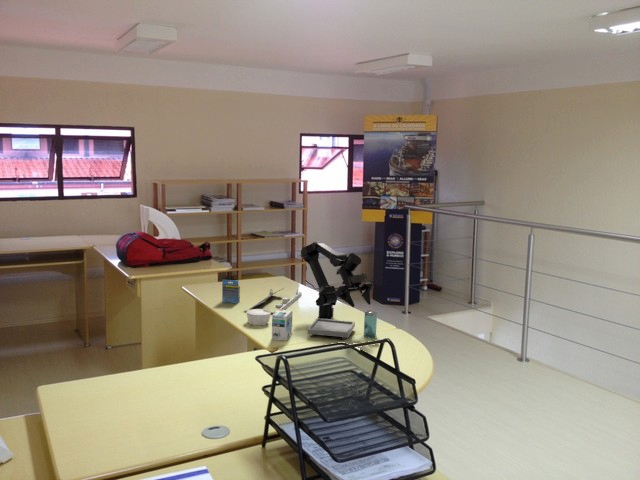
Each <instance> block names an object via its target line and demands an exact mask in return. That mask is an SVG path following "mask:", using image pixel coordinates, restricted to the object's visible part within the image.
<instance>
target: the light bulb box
mask: <svg viewBox="0 0 640 480" xmlns="http://www.w3.org/2000/svg"><path fill="white" fill-rule="evenodd" d="M274 312H275V313H274ZM274 312H273V313H272V315H271V340H279V341H287V340H288V339H289V338H290V337H291V335H293V310H289V309H288V310H287V309H285V310H280V308H278V309H277V310H276V311H274Z"/></svg>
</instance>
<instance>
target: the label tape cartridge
mask: <svg viewBox="0 0 640 480" xmlns="http://www.w3.org/2000/svg"><path fill="white" fill-rule="evenodd" d="M221 285H222V288H221V289H222V293H221V295H222V296H221V297H222V301H221V302H222V303H232V304H239V303H240V301H241V300H240V299H241V286H240V285H239V280H238V279H237V280H235V279H234V280H233V279H222V284H221Z"/></svg>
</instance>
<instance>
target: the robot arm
mask: <svg viewBox="0 0 640 480" xmlns="http://www.w3.org/2000/svg"><path fill="white" fill-rule="evenodd" d="M320 254H321V255H323V256H324V257H326V258H327V259H328V260H329V263H330V264H331V265H332V266H333V267H334V268H335V267H336V268H337V267H339V268H337V270H336V275H340V278H341V280H342V282H341V284H342V285H340V286H338V288H337V289H336V287H335V286H334V285H330V284H329V282H328V279H327V277H326V275H325V273H324V270H323V268H322V266H321V263H320V261H319V258H320V257H319V256H320ZM300 255H301V257H302V259H303V261H305V262H306V264H308V265H309V267H310V269H311V271H312V274H313V277H314V279H315V281H316V283H317V286H318V290H319V291H318V298H317V299H316V300H315V304H316V305H315V306H318V316H317V318H319V319H329V320H332V318H334V316H335V315H334V309H335V308H333V307H334V306H336V305H337V301H338V298H339V299H341V300H342V301H344V302H345V303H346V304H348V305H349V306H350V307H352V308H355V303H354V300H353V299H352V296H351V293H354V292H355V293H356V292H359V293H360V294H361V297H362V298H363V300H364V301H365V302H366V303H367V304H368V305H369V306H370V305H371V295H370V294H371V292H372V290H373V289H374V287H375V286H374V285H373V283H372V282H366V280H368V275H367V274H366V272H363V273H360V274H354V272H355V271H356V270H357V268H358V267H359V266H360V265H361V264H362V258H361V257H360V256H358V255H357V254H355V252H349V254H348V255H347V254H346V253H345V252H341V251H340V252H339V251H336V250H334V249H333V248H331V247H330V246H329V245H326V244H325V243H324V242H323V241H319V240H318V241H313V242H311V244H308V245H306V246H303V247H302V248H301V250H300ZM364 282H365V283H364ZM362 283H363V284H362Z"/></svg>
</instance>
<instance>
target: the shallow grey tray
mask: <svg viewBox="0 0 640 480" xmlns="http://www.w3.org/2000/svg"><path fill="white" fill-rule="evenodd" d="M355 323H356V322H355V321H350V320H340V319H321V318H318V317H317V318H315V320H314V321H312V323H311V324H310V326H308V328H307V334H308V335H309V334H310V337H312V338H315V335H319V336H331V337H340V338H342V341H346V340H347V339H348V338H349V337H350V336H351V333H352V332H353V330H354V328H355V325H356V324H355Z"/></svg>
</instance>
